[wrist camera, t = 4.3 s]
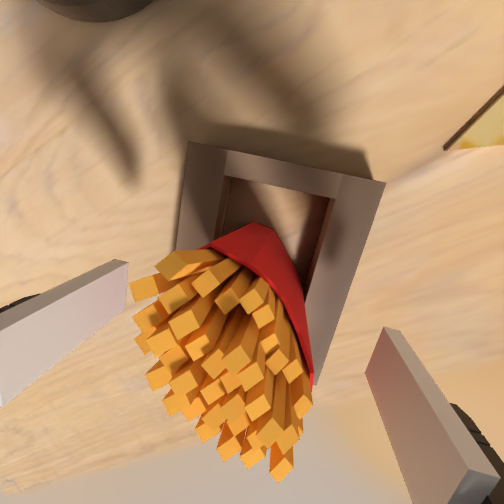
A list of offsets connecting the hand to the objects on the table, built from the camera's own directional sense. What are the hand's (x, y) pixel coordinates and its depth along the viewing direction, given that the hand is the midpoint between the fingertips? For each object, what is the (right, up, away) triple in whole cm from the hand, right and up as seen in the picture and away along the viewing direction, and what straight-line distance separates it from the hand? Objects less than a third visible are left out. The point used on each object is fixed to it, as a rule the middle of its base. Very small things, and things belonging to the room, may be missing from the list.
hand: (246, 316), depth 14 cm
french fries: (+1, +2, +7) cm, 8 cm away
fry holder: (+1, +2, +7) cm, 8 cm away
